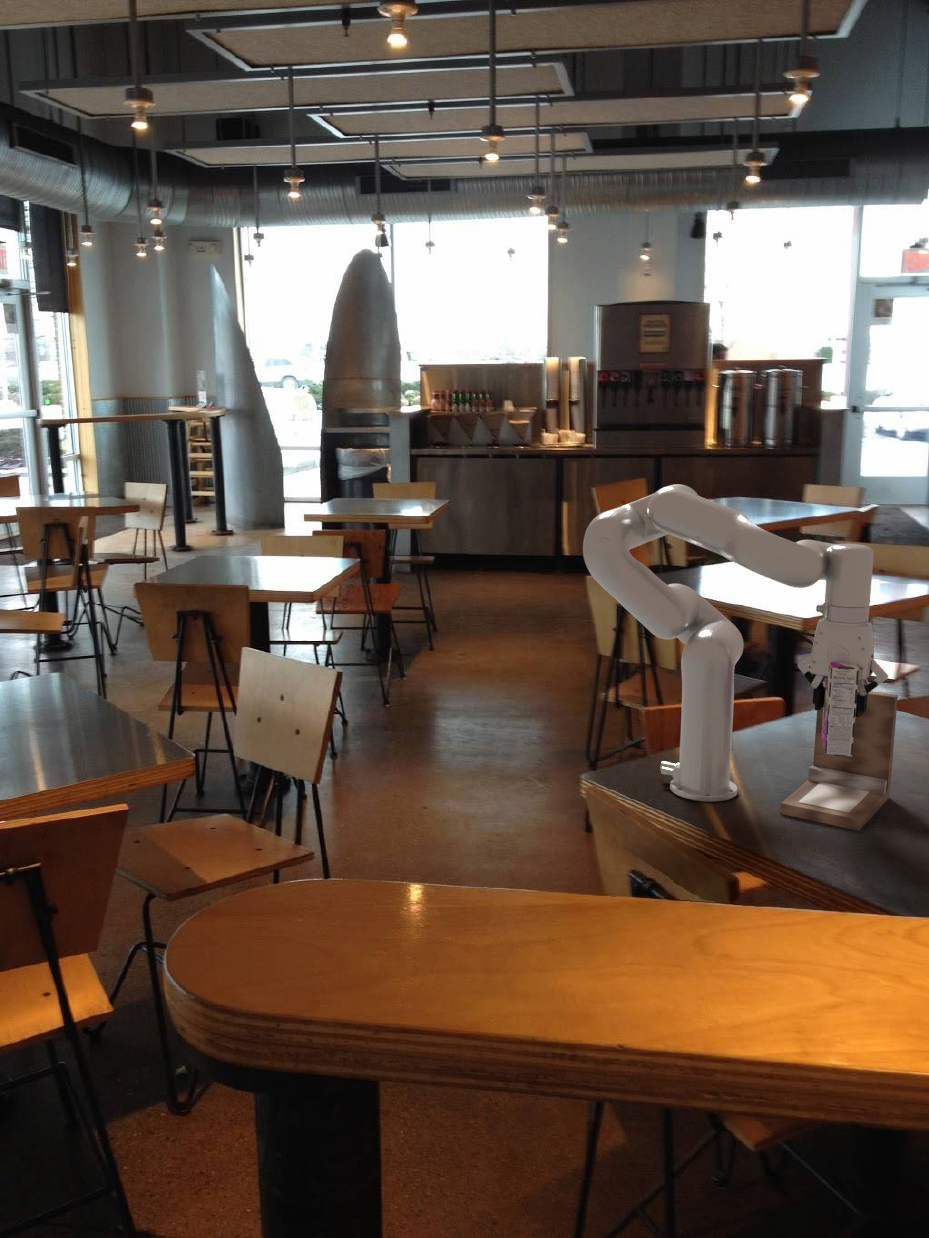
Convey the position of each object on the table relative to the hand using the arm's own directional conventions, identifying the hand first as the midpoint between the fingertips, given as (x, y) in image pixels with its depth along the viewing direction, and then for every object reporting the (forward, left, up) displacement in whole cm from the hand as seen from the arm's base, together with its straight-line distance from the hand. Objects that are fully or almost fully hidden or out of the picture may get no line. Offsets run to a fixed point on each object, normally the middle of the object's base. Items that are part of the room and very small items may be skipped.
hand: (838, 711), depth 199 cm
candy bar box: (0, 0, -7) cm, 7 cm away
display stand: (0, +2, -19) cm, 19 cm away
